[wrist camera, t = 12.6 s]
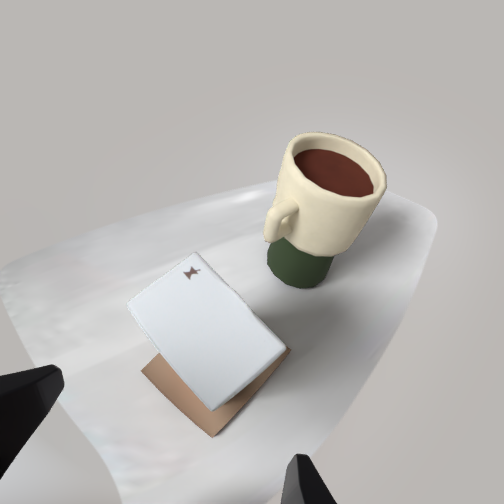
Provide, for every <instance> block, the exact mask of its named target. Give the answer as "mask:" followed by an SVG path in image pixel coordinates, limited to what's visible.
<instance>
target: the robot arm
mask: <svg viewBox="0 0 504 504" xmlns="http://www.w3.org/2000/svg"><path fill="white" fill-rule="evenodd" d="M63 388H64V379H63V375H62V371H61V369H60V368H58V367H57V366H55V365H47V366H43V367H39V368H34V369H30V370H26V371H21V372H17V373H12V374H7V375H2V376H0V479H1V478H2V476H3V475H4V473H5V472H6V470H7V469H8V467H9V466H10V464H11V463H12V462H13V460H14V459H15V457H16V456H17V454H18V453H19V452H20V450H21V449H22V447H23V446H24V445H25V443H26V442H27V441H28V439H29V438H30V437H31V435H32V434H33V433H34V431H35V430H36V429H37V427H38V426H39V425H40V424H41V422H42V421H43V420H44V418H45V417H46V415H47V414H48V412H49V411H50V410H51V408H52V406H53V405H54V403H55V401H56V400H57V398H58V396H59V395H60V393H61V392H62V390H63ZM281 504H337V503H336V502H335V500H334V499H333V497H332V495H331V493H330V492H329V490H328V488H327V487H326V485H325V483H324V482H323V480H322V478H321V477H320V475H319V473H318V471H317V470H316V468H315V466H314V465H313V463H312V461H311V459H310V458H309V456H308V455H305V454H296V455H295V456H294V457H293V459H292V460H291V461H290V463H289V464H288V467H287V470H286V476H285V482H284V488H283V493H282V499H281Z"/></svg>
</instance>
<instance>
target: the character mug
mask: <svg viewBox="0 0 504 504" xmlns="http://www.w3.org/2000/svg"><path fill="white" fill-rule="evenodd" d="M386 183H387V182H386V174H385V172H384V170H383V168H382V166H381V164H380V162H379V161H378V160H377V159H376V158H375V157H374V156H373V155H372V154H371V153H370V152H369V151H368V150H366V149H365V148H363V147H361V146H360V145H358V144H357V143H355V142H353V141H351V140H348V139H346V138H343V137H340V136H338V135H335V134H329V133H323V132H307V133H303V134H300V135H298V136H295V137H294V138H293V139H292V140H291V141H290V142H289V144H288V147H287V149H286V152H285V155H284V157H283V162H282V166H281V170H280V172H279V177H278V181H277V191H276V196H275V198H274V200H273V207H272V208H270V209H269V211H268V213H267V216H266V221H265V226H264V231H263V235H264V239H265V242H268V243H271V244H270V247H269V249H268V253H267V264H268V266H269V267H270V269H271V271H272V272H273V274H274V275H275V276H276V277H277V278H279V279H280V280H281V281H283V282H284V283H285V284H287V285H290V286H293V287H297V288H300V289H301V288H309V287H314V286H316V285H317V284H318V283H320V282H321V281H322V280H324V278H325V276H326V274H327V272H328V270H329V268H330V265H331V263H332V260H333V258H334V256H335V255H337V254H340V253H342V252H345V251H346V250H347V249H348V248H349V247H350V246H351V244H352V243H353V242H354V240H355V239H356V238H357V236H358V235H359V233H360V232H361V230H362V229H363V227H364V226H365V224H366V222H367V221H368V219H369V218H370V216H371V214H372V213H373V211H374V209H375V208H376V206H377V205H378V203H379V201H380V200H381V198H382V196H383V195H384V193H385V191H386V188H387V184H386Z"/></svg>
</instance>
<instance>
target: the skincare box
mask: <svg viewBox="0 0 504 504" xmlns="http://www.w3.org/2000/svg"><path fill="white" fill-rule="evenodd" d="M126 305H127V307H128V309H129V310H130V312H131V313H132V315H133V317H134V318H135V320H136V321H137V323H138V324H139V326H140V327H141V329H142V330H143V332H144V333H145V335H146V336H147V337H148V339H149V340H150V341H151V343H152V344H153V345H154V346H155V348H156V349H157V350H158V351H159V353H160V354H161V355H162V356H163V358H164V359H165V360H166V361H167V362H168V363H169V365H170V366H171V367H172V368H173V370H174V371H175V372H176V373H177V374H178V375H179V377H180V378H181V379H182V380H183V381H184V382H185V384H186V385H187V386H188V387H189V388H190V389H191V390H192V391H193V393H194V394H195V395H196V396H197V397H198V398H199V399H200V400H201V401H202V402H203V403H204V405H205V406H206V407H207V408H208V409H209V410H210V411H211V412H212V411H215V410H217V409H218V408H219V407H221V406H222V405H223V404H225V403H226V402H227V401H229V400H230V399H231V398H233V397H234V396H235V395H236V394H237V393H239V392H240V391H241V390H242V389H244V388H245V387H246V386H247V385H248V384H250V383H251V382H252V381H253V380H254V379H255V378H256V377H258V376H259V375H260V374H261V373H262V372H263V371H264V370H265V369H267V368H268V367H269V366H270V365H271V364H272V363H273V362H274V361H275V360H276V359H277V358H278V357H279V356H280V355H281V354H282V353H284V351H285V350H286V345H285V344H284V343H283V342H282V341H281V340H280V339H279V338H278V337H277V336H276V335H275V334H274V333H273V332H272V331H271V330H270V329H269V328H268V327H267V326H266V325H265V323H264V322H263V321H262V320H261V319H260V318H259V317H258V316H257V315H256V314H255V313H254V312H253V311H252V310H251V309H250V308H249V306H248V305H247V304H246V302H245V301H244V300H243V299H242V298H241V297H240V296H239V294H238V293H237V292H236V291H235V290H233V289H232V288H231V287H230V286H229V285H228V284H227V283H226V282H225V281H224V280H223V279H222V278H221V277H220V276H219V275H218V274H217V273H216V272H215V271H214V270H213V269H212V268H211V267H210V266H209V264H208V263H207V262H206V261H205V260H204V259H203V258H202V257H201V256H200V255H199V254H198V253H197V252H194V253H192V254H191V255H190V256H188V257H187V258H186V259H184V260H183V261H182V262H180V263H179V264H178V265H176V266H175V267H174V268H172V269H171V270H170V271H168V272H167V273H166V274H164V275H163V276H162V277H160V278H159V279H157V280H156V281H155V282H153V283H152V284H151V285H149V286H148V287H146V288H145V289H144V290H142V291H141V292H140V293H139V294H137V295H136V296H135V297H133V298H132V299H131V300H130V301H128V302H127V304H126Z"/></svg>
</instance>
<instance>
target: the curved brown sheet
mask: <svg viewBox="0 0 504 504" xmlns="http://www.w3.org/2000/svg"><path fill="white" fill-rule="evenodd" d="M290 351H291V349H290V348H288V347H287V346H286V350H285V351H284V353H282V354H281V355H280V356H279V357H278V358H277V359H276V360H275V361H274V362H273V363H272V364H271V365H270V366H269V367H268V368H267V369H265V370H264V371H263V372H262V373H261V374H260V375H259V376H258V377H256V378H255V379H254V380H253V381H252V382H251V383H250V384H248V385H247V386H246V387H245V388H244V389H242V390H241V391H240V392H239V393H237V394H236V395H235V396H234V397H233V398H231V399H230V400H229V401H227V402H226V403H225V404H223V405H222V406H221V407H219V408H218V409H217V410H215V411H212V412H211V411H210V410H209V409H208V408H207V407H206V406H205V405H204V403H203V402H202V401H201V400H200V399H199V398H198V397H197V396H196V395H195V394H194V393H193V391H192V390H191V389H190V388H189V387H188V386H187V385H186V384H185V382H184V381H183V380H182V379H181V378H180V377H179V375H178V374H177V373H176V372H175V371H174V370H173V368H172V367H171V366H170V365H169V363H168V362H167V361H166V360H165V359H164V358H163V356H162V355H161V354H160V353H159V354H158V355H157V356H155V357H154V358H153V359H152V360H151V361H150V362H149V363H148V364H147V365H146V366H145V367H144V368H143V369H142V370H141V372H142V373H143V374H144V375H145V376H146V377H147V378H148V379H149V380H150V381H151V382H152V383H153V384H154V385H155V387H156V388H157V389H158V390H159V391H160V392H161V393H162V394H163V395H164V396H165V397H167V398H168V399H169V400H170V401H171V402H172V403H173V404H174V405H175V406H176V407H177V408H178V409H179V410H180V411H181V412H182V413H184V414H185V415H186V416H187V417H188V418H189V419H190V420H191V421H193V422H194V423H195V424H196V425H197V426H198V427H199V428H201V429H202V430H203V431H204V432H205V433H207V434H208V435H209V436H210V437H212V438H213V437H214V436H215V435H216V434H217V433H218V432H219V431H220V430H221V429H222V428H223V427H224V426H225V425H226V424H227V423H228V422H229V420H230V419H231V418H232V417H233V416H234V415H235V414H236V413H237V412H238V411H239V410H240V409H241V408H242V407H243V406H244V405H245V403H246V402H247V401H248V400H249V399H250V398H251V397H252V396H253V395H254V394H255V392H256V391H257V390H258V389H259V388H260V387H261V386H262V384H263V383H264V382H265V381H266V380H267V379H268V378H269V376H270V375H271V374H272V373H273V372H274V370H275V369H276V368H277V367H278V366H279V364H280V363H281V362H282V361H283V360H284V358H285V357H286V356H287V355H288V354H289V352H290Z"/></svg>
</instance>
